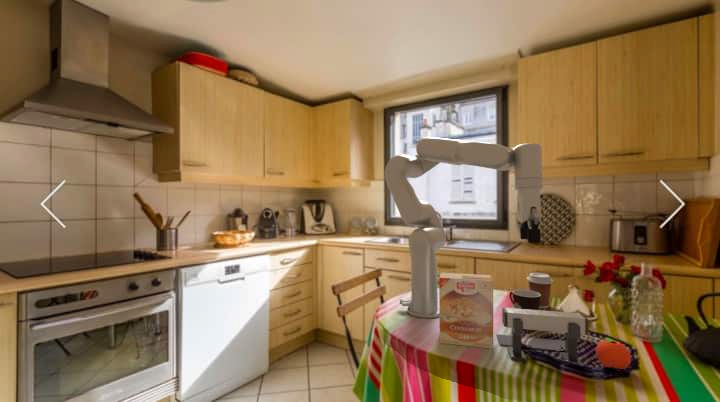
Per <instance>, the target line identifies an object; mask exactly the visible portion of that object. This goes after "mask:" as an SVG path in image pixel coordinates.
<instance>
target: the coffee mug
mask: <svg viewBox="0 0 720 402" xmlns="http://www.w3.org/2000/svg"><path fill="white" fill-rule="evenodd" d="M540 298H541V294H540V293H537V292H534V291H530V290H528V289H515V290H512V291H511V292H509V299H510V302H511V303H512V305H513V308H516V309H529V310H540V308H539V305H540Z"/></svg>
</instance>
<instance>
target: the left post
mask: <svg viewBox="0 0 720 402" xmlns="http://www.w3.org/2000/svg"><path fill="white" fill-rule="evenodd" d="M522 335H524V329H523V321H522V320H514V328H511V336H512V347H509V346H506V348H507V352H508V354H509V358H510V360H512V361H519V362H520V361H521V362H527V357H526V355H525V353H524V351H521V337H522Z"/></svg>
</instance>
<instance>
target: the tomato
mask: <svg viewBox="0 0 720 402" xmlns="http://www.w3.org/2000/svg"><path fill="white" fill-rule="evenodd" d="M595 352H596V353H595V354H596V358H597V359H598V361H599V362H600V363H601V364H602V365H603V366H604V367H605V368H607V367H614V368H619V369H624V370H626V369H628V367H629V366H630V364H631V362H632V357H631V353H630V351H629V349H628V348H627V347H626V345H624V344H623V343H622V342H619V340H614V339H613V338H609V337H602V338H600V339H599V340H598V344H597V346H596V347H595Z"/></svg>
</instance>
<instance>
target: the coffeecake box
mask: <svg viewBox="0 0 720 402" xmlns="http://www.w3.org/2000/svg"><path fill="white" fill-rule="evenodd" d="M438 281H439V284H438V287H439V288H438V291H439V292H438V295H439V297H438V301H439V306H438V307H439V316H438V319H439V321H438V322H439V324H438V325H439V328H438V329H439V331H438V333H439V344H446V345H453V346H455V345H456V346H457V345H458V346H465V347H475V348H482V349H494V280H493V277H492V275H491V274H476V273H473V274H472V273H457V272H455V273H454V272H440V273H439V280H438Z"/></svg>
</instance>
